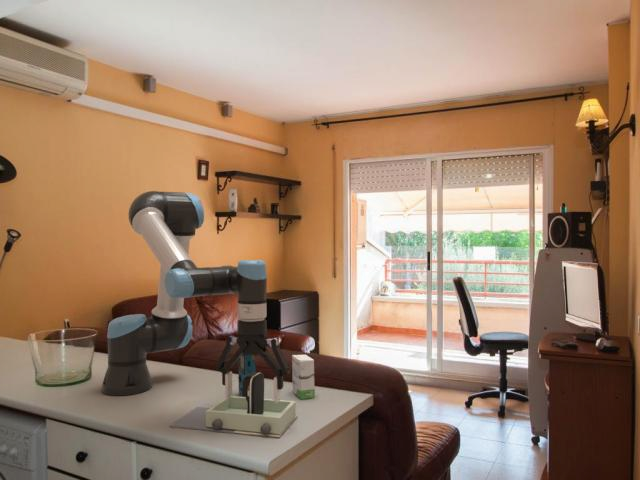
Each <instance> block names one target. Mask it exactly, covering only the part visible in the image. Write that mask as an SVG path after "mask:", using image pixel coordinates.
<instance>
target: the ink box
mask: <svg viewBox="0 0 640 480" xmlns="http://www.w3.org/2000/svg"><path fill="white" fill-rule="evenodd" d="M291 362H292V363H291V367H292V369H291V370H292V375H291V376H292V379H291V380H292V384H291V385H292V393H293V394H295V395H296V396H297V397H298V398H299V399H300V400H306V399H315V397H316V395H315V393H316V392H315V359H313V358H312V357H310V356H308V355H307V354H292V355H291Z"/></svg>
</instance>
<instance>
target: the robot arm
mask: <svg viewBox="0 0 640 480" xmlns="http://www.w3.org/2000/svg"><path fill="white" fill-rule="evenodd" d="M204 209H205V208H204V206H203V203H202V201H201V199H200V197H199V196H198V195H196V194H194V193H191V192H190V193H189V192H184V191H183V192H181V191H158V190H152V191H151V190H150V191H146V192H143V193H140V195H138V196H136V198H134V200H132V202H131V204H130V206H129V208H128V213H127V214H128V215H127V216H128V221H129V224H130V226H131V227H132V230H133V231H134V232H135V233H136V234H138V235H141V236H142V238H143V240H144V241H145V243H146V245H147V246H148V247H149V249H150V251H151V252H152V253H153V255H154V257H155V258H156V260H157V261H158V263H159V264H160V268H159V277H158V279H159V280H158V288H157V289H158V291H157V300H156V301H157V302H156V306H155V307H154V308H152V310H151V315H150V317H146V316H147V315H146V314H143V313H135V314H128V315H123V316H119V317H116V318H114V319H112V320H111V321H110V322H108V325H107V335H106V338H107V369H106V372H105V374H104V378H103V381H102V385H101V391H102V394H105V395H109V396H117V397H118V396H131V395H136V394H141V393H144V392H147V391H148V390H151V389H152V388H153V380H152V375H151V373H150V370H149V367H148V364H147V354H153V353H159V352H165V351H175V350H177V349H181V348H184V347H186V346H187V345H188V344H189V342H190V341H191V338H192V335H193V330H194V329H193V325H192V324H193V321H192V318H191V317H190V315H189V314H188V311H187V310H186V309H185V308H184V303H185V299H188V298H196V297H206V296H215V295H228V294H229V295H237V318H238V320H237V336H234V335H232V334H231V335H229V336H227V337H226V340H225V346H224V348H223V351H222V352H221V354H220V357H219V359H218V361H217V364H216V366H215V367H214V369H215V371H216V372H220V373H221V377H222V379H221V381H222V386H224V391H225V392H224V394H225V395H224V398H225V399H229V398H230V397H231V396H233V372H232V371H230V370H231V369H232V368H233V366H234V365H235V364H236V363H237V361H239V358H240V357H241V356H242V354H243V353H245V355H250V354H252V355H254V356H258V355H259V357H260V358H262V359H263V361H264V362H265V364H267V365H268V367H269V369H271V371H272V372H273V373H274V375H275V376H274V377H273V399H274V403H277V402H278V401H280V400H281V390H283V388H284V377H285V376H288V375H289V374H290V373H291V369H290V366H289V364H288V362H287V360H286V358H285V355H284V354H283V351H282V349H281V347H280V341H279V338H278V337H274V338H268V336H267V332H268V330H267V328H268V327H267V322H268V320H266V318H267V316H268V315H267V313H268V312H267V310H268V309H267V290H268V289H267V288H268V287H267V285H268V284H267V281H268V280H267V279H268V275H267V263H266V262H265V261H264V260H262V259H245V260H239V261H238V262H237V266H233V265H221V266H212V267H211V266H208V267H198V266H197V265H196V264H195V262H194V261H193V260H192V259H191V257H190V256H189V253H190V251H189V250H190V240H191V239H192V238H194V237H195V236H196V230H198V229H201V227H202V226H203V224H204V220H205V210H204ZM236 344H237V345H238V348H239V347H240V348H239V349H237V350H236V352H235V353H234V354H233V355H232V357H231V358H230V359H229V361H228V362H227V360H228V358H229V355H230V354H231V352H232V350H233V348H234V345H236ZM267 345H268V346H269V347H270V348H271V350H272V353H273V355H274V356H275V357H273V356H272V355H271V353H270V351H269V350H268V348H267ZM274 358H275V359H276V360H275V359H274ZM226 362H227V363H226Z"/></svg>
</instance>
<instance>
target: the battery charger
mask: <svg viewBox="0 0 640 480" xmlns="http://www.w3.org/2000/svg"><path fill="white" fill-rule="evenodd" d="M264 375H265V373H262V372H256V371H255V372H253V373H251V374H249V375H247V376H246V377H245V378H244V379H243V382H242V396H243V397H246V400H247V402H248V410H247V413H248V414H259V415H262V414H263V413H264V399H265V376H264Z"/></svg>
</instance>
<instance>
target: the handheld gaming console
mask: <svg viewBox="0 0 640 480" xmlns="http://www.w3.org/2000/svg"><path fill="white" fill-rule="evenodd" d="M239 348H240V347H239V346H238V349H239ZM238 349H237V350H238ZM253 372H256V360H255V355H252V354H250V355H245V353H243V354H242V356H241V357H240V358H239V359H238V377H237V378H238V393H239V396H240V397H243V396H242V382H243V379H244V378H245V377H246V376H247V375H249V374H251V373H253Z"/></svg>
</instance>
